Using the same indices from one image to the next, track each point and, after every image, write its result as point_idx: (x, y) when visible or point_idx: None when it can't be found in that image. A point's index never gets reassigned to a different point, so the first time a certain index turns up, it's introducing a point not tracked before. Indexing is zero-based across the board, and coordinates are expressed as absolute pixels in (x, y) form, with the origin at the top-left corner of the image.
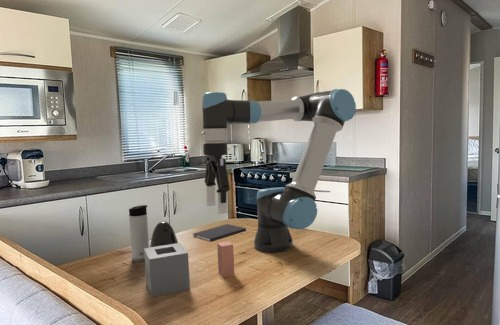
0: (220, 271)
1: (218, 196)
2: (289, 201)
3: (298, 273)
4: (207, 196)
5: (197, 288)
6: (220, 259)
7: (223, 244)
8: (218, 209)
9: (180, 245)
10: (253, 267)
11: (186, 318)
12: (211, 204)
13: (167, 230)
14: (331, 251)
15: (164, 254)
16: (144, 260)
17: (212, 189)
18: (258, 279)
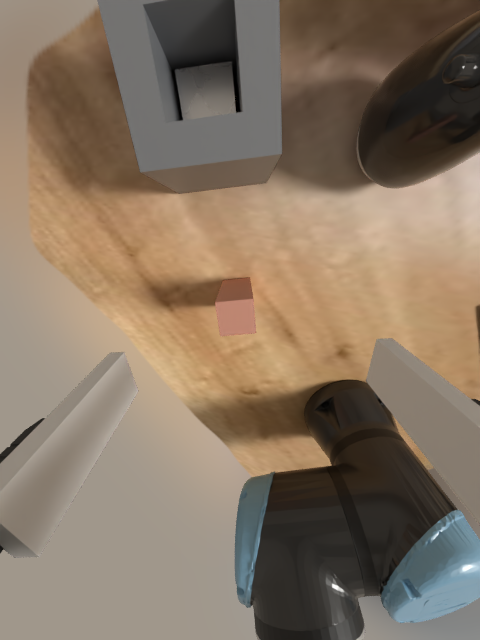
0: (235, 281)
1: (7, 457)
2: (266, 567)
3: (194, 399)
4: (430, 386)
5: (180, 213)
6: (230, 289)
7: (231, 312)
8: (99, 368)
9: (244, 152)
10: (250, 347)
11: (36, 162)
12: (375, 366)
13: (466, 89)
14: (265, 465)
15: (141, 50)
16: None
17: (470, 484)
18: (189, 339)
